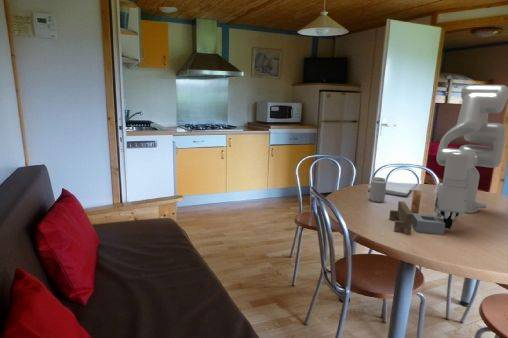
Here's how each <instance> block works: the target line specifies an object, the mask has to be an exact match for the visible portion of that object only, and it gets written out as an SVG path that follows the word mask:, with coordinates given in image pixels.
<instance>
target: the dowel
mask: <svg viewBox="0 0 508 338" xmlns="http://www.w3.org/2000/svg"><path fill="white" fill-rule="evenodd" d="M421 196H422V190H419V189H413V191H412V199H411V206H410V211H411V212H412V213H416V214H420V213H419V212H420V205H421V198H422V197H421Z"/></svg>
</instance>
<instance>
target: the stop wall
mask: <svg viewBox="0 0 508 338" xmlns="http://www.w3.org/2000/svg"><path fill="white" fill-rule="evenodd" d="M388 219H389V221H394V227H393V231H394V232H395V233H396V232H397V233H402V234H405V235H411V232H412V227H413V226H412V219H413V214H412V212H411V208H410V207H409V206H408V205H407V203H406V201H400V200H399V201H398V205H397V210H393V209H390V210H389V217H388Z"/></svg>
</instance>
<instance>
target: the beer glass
mask: <svg viewBox="0 0 508 338" xmlns="http://www.w3.org/2000/svg"><path fill="white" fill-rule="evenodd" d="M441 184H443V182H437V184H436V187H435V193H434V201H435V200H436V196H437V192H438V189H439V186H440V185H441ZM432 215H436V216H439V217H440V218H441V219H442V220H443V218H444V217H443V216H442V215H441V214H439V213H436V212H435V211H433V214H432Z"/></svg>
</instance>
